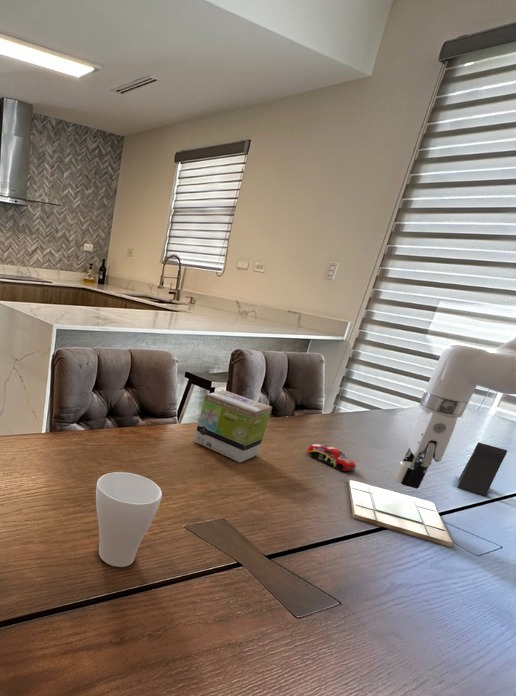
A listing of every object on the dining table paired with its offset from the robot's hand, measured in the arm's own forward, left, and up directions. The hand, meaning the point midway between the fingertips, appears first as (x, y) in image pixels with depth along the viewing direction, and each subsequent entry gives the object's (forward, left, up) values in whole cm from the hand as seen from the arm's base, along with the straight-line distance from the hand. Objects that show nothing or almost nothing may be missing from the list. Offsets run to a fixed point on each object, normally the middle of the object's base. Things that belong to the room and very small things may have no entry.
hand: (407, 480), depth 105 cm
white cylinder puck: (0, 0, 0) cm, 0 cm away
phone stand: (-22, -32, -8) cm, 40 cm away
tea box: (+40, -10, -8) cm, 42 cm away
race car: (+13, -22, -8) cm, 27 cm away
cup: (+48, +54, -8) cm, 73 cm away
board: (0, 0, -8) cm, 8 cm away
